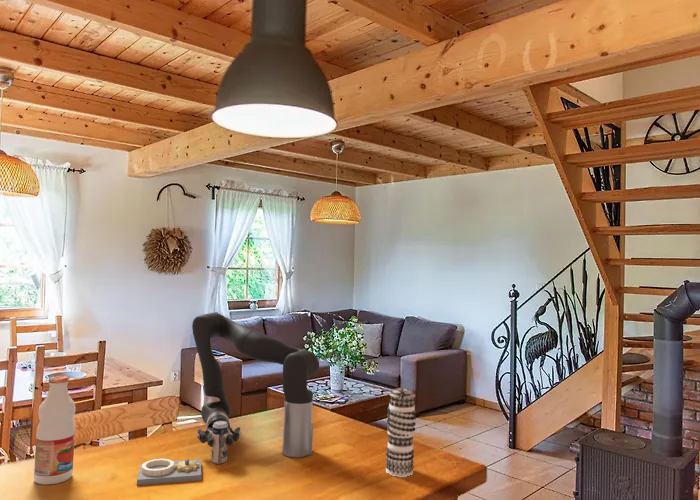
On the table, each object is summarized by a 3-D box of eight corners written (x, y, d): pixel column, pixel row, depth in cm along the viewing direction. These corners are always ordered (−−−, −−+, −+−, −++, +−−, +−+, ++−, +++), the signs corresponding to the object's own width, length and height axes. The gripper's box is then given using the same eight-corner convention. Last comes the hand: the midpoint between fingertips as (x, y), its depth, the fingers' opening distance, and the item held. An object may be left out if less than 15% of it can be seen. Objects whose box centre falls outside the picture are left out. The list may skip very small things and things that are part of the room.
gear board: (200, 464, 159) (201, 451, 159) (201, 480, 147) (201, 467, 148) (141, 468, 154) (141, 455, 154) (136, 485, 143) (137, 471, 143)
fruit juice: (40, 472, 148) (46, 373, 149) (76, 470, 150) (81, 373, 151) (28, 486, 139) (34, 381, 140) (66, 484, 141) (72, 381, 142)
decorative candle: (394, 479, 153) (398, 394, 154) (378, 468, 161) (382, 387, 162) (420, 475, 157) (423, 392, 158) (403, 464, 166) (406, 385, 166)
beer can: (222, 465, 159) (224, 425, 159) (208, 463, 160) (210, 424, 160) (229, 459, 163) (231, 421, 164) (215, 457, 164) (217, 419, 165)
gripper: (196, 415, 173) (196, 432, 157) (240, 413, 177) (244, 429, 161) (195, 437, 173) (195, 457, 157) (239, 435, 177) (243, 453, 161)
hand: (220, 442), depth 159 cm, fingers closed on beer can, 4 cm apart
